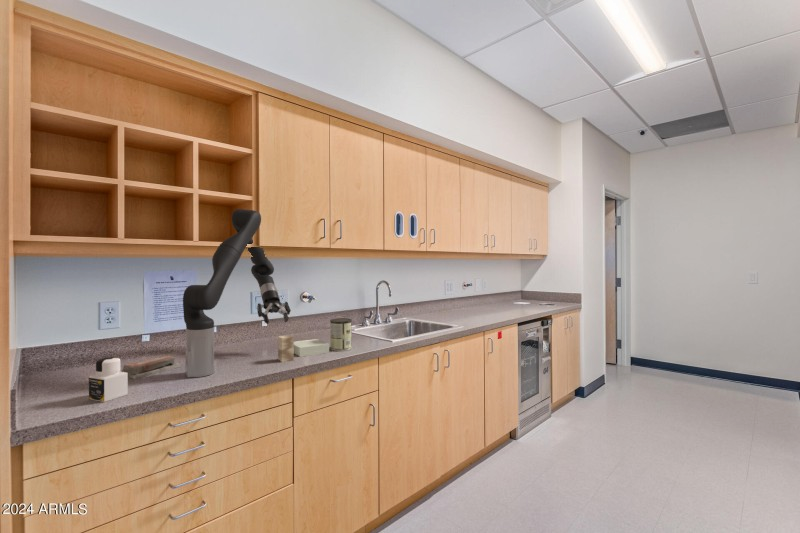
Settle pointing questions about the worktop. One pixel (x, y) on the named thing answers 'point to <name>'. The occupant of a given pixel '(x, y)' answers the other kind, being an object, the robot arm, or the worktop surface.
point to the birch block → (285, 348)
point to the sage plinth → (310, 347)
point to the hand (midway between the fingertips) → (277, 321)
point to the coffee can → (340, 334)
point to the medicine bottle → (108, 380)
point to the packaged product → (150, 367)
